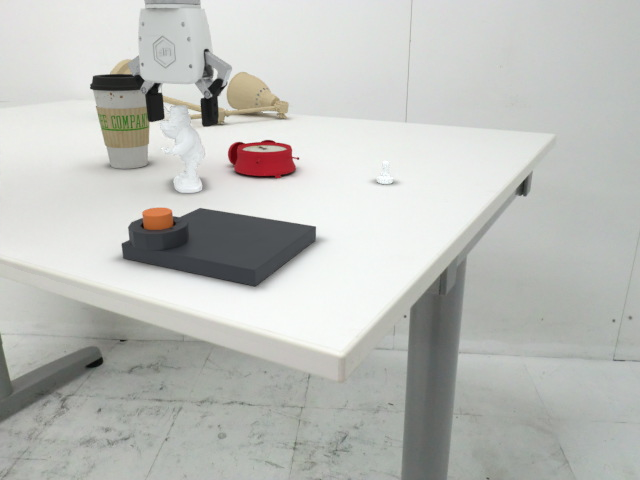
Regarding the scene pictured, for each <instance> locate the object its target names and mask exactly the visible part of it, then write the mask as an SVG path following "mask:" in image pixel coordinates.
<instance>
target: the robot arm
mask: <svg viewBox="0 0 640 480" xmlns="http://www.w3.org/2000/svg"><path fill="white" fill-rule="evenodd" d="M201 1H202V0H144V8H140V11H139V18H138V35H137V36H138V39H137V40H138V41H137V43H138V55H137V56H135V57H134V58H132V59H131V61H130V62H129V63H128V67H129V69H130V71H131V73H132V75H133V76H134V81H135V82H136V84H137V85H138V86H139V87H140V88H141V89H140V90H141V93H142V94H145V99H146V108H147V117H148V121H149V123H156V122H159V121H164V120H165V118H166V114H165V110H164V102H163V96H164V95H163V92H159V91H160V89H161V88H162V86H163V84H168V85H169V84H170V85H192V84H194V85H195V86H196V87H197V89H198V91H199V92H200V93H201V94H202V96H203V97H201V98H200V101H199V103H200V106H201V112H200V114H201V117H202V118H201V126H202V127H205V128H208V127H212V126H216V125H219V124H218V118H219V111H218V107H219V97H221V96H222V92H223V91H224V89H225V88H226V87H228V80H229V79H230V76H231V75H232V74H231V73H232V72H233V66H232V65H231V64H229V63H228V62H226V61H225V60H224V59H222V58H220V57H219V56H217V55H216V54H214V51H213V44H212V36H211V31H210V25H209V21H208V18H207V13H206V10H205V8H202V5H201V3H202V2H201ZM215 70H216V71H217V74H216V78H215V79H213V78H214V76H215V75H214V74H215Z"/></svg>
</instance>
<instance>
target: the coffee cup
mask: <svg viewBox="0 0 640 480" xmlns="http://www.w3.org/2000/svg"><path fill="white" fill-rule="evenodd" d="M89 89H90V90H92V93H93V96H94V100H95V109H96V113H97V117H98V122H99V126H100V131H101V134H102V139H103V142H104V146H105V147H106V153H107V156H108V161H109V164H110V167H111V168H114V169H124V170H125V169H126V170H127V169H138V168H142V167H145V166H147V165H148V164H149V144H150V122H149V121H148V117H147V108H146V99H145V94H142V93H141V90H140V89H141V88H140V87H139V86H138V85H137V84H136V82H135V81H134V76H133V75H132V74H110V73H109V74H108V73H107V74H96V75H92V80H91V83H90V84H89Z"/></svg>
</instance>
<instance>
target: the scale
mask: <svg viewBox="0 0 640 480" xmlns="http://www.w3.org/2000/svg"><path fill="white" fill-rule="evenodd" d="M127 231H128V240H125V241H124V242H121V251H122V253H121V254H122V258H123V259H125V260H130V261H134V262H140V263H144V264H149V265H153V266H159V267H162V268H168V269H172V270H177V271H182V272H186V273H191V274H196V275H201V276H206V277H209V278H215V279H219V280H223V281H229V282H234V283H238V284H244V285H248V286H253V287H256V286H257V285H259V284H261V283H262V282H263V281H265V280H266V279H267V278H268V277H269V276H271V275H272V274H274V273H275V272H276V271H277V270H278V269H280V268H281V267H282V266H284V265H285V264H287V263H288V262H289V261H290V260H292V259H293V258H294V257H295V256H297V255H298V254H300V253H301V252H302V251H303V250H305V249H306V248H308V246H310V245H311V244H313V243H314V242H315V241H316V240H317V226H315V225H310V224H303V223H298V222H290V221H285V220H279V219H271V218H266V217H259V216H254V215H247V214H242V213H241V214H240V213H235V212H228V211H222V210H215V209H209V208H203V207H199V208H196V209H193V210H192V211H190V212H188V213H186V214H183V215H181V216H175V215H173V227H171V228H167V229H162V230H148V229H144V225H143V217H140V218H138V219H136V220H133V221H131V222H130V224H129V225H128V226H127Z"/></svg>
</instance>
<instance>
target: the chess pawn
mask: <svg viewBox="0 0 640 480" xmlns="http://www.w3.org/2000/svg"><path fill="white" fill-rule="evenodd" d="M390 165H391V163H390V161H389V160H383V161H382V162H381V168H382V170H381V173H380V175H377V176H376V183H378V184H380V185H390V184H392V183H393V182H394V177H393V176H391V173H390V170H389V169H390Z"/></svg>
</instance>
